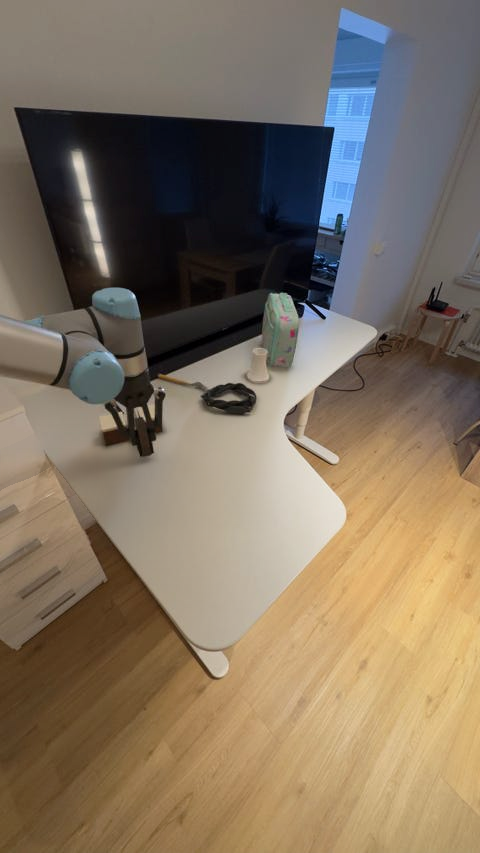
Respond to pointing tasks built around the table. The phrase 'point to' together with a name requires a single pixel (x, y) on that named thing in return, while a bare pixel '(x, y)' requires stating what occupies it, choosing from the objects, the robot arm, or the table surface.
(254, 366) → the vase
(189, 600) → the table surface
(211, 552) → the table surface
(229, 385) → the cable
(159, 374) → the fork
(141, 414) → the cake slice
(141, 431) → the long brown beam
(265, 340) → the lunch box
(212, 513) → the table surface
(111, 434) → the cake
